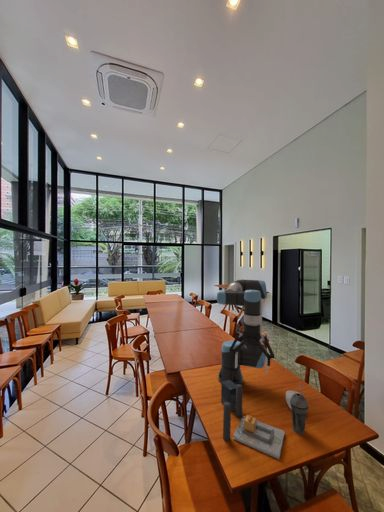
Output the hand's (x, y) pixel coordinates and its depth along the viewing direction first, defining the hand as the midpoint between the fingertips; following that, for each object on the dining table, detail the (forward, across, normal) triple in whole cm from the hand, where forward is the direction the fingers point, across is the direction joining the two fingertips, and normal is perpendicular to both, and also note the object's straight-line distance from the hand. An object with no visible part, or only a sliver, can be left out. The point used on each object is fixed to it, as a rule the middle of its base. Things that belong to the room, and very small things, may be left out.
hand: (250, 369), depth 103 cm
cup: (+24, +19, +19) cm, 36 cm away
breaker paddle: (+22, +1, -7) cm, 23 cm away
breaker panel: (+24, +4, -8) cm, 25 cm away
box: (+24, -11, +8) cm, 28 cm away
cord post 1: (+24, -8, -13) cm, 29 cm away
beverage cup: (+24, +21, +3) cm, 32 cm away
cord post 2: (+24, -5, +2) cm, 24 cm away
